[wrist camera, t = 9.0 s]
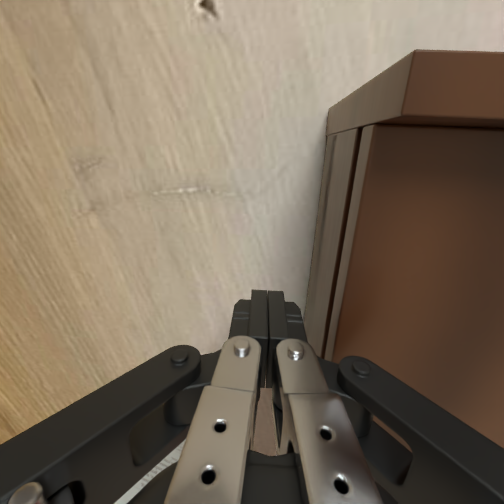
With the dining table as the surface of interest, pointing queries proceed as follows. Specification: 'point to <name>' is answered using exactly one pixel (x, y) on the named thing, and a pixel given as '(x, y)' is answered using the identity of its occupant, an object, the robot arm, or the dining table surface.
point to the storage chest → (417, 233)
